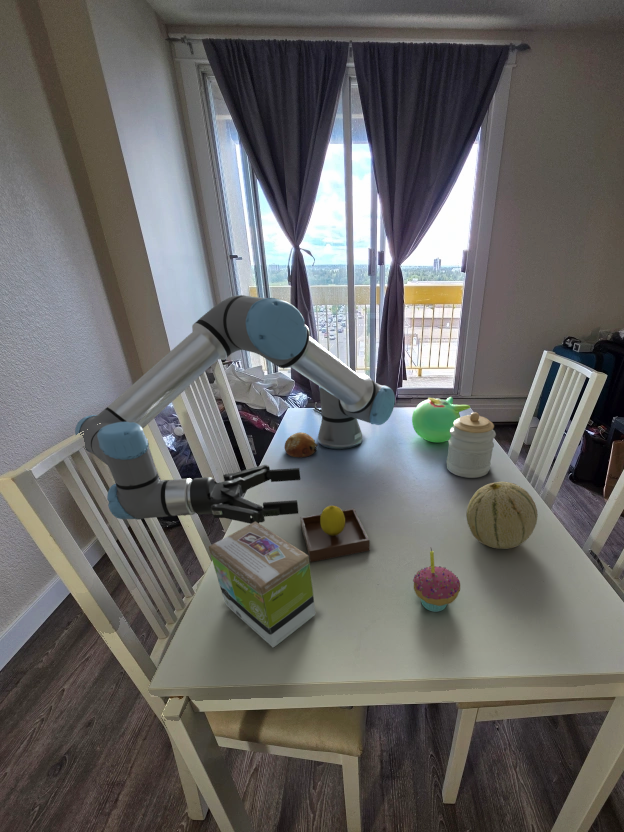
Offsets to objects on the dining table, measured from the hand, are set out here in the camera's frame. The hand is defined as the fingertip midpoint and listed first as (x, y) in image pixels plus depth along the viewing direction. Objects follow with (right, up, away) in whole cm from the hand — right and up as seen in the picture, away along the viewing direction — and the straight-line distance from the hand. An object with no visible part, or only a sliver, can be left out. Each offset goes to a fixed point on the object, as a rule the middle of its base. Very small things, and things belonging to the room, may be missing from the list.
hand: (299, 489), depth 86 cm
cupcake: (+27, -22, -9) cm, 36 cm away
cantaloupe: (+44, -12, +7) cm, 46 cm away
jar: (+44, +7, +37) cm, 58 cm away
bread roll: (-8, +14, +48) cm, 50 cm away
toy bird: (+37, +19, +56) cm, 70 cm away
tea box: (-3, -23, -11) cm, 26 cm away
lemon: (+7, -11, +7) cm, 14 cm away
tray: (+7, -11, +8) cm, 15 cm away
